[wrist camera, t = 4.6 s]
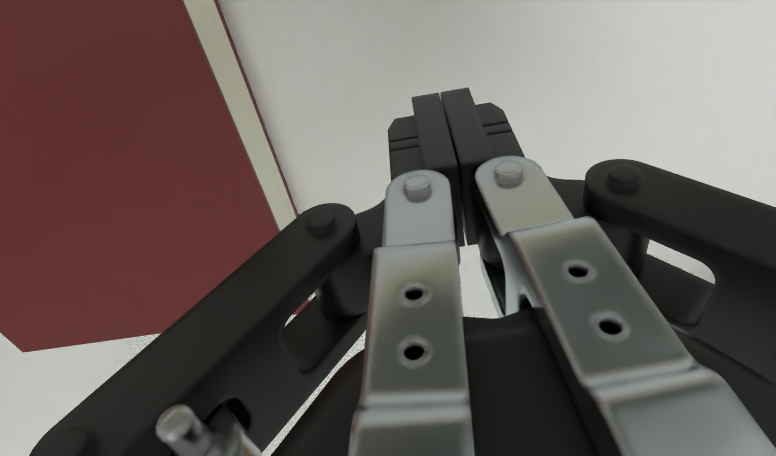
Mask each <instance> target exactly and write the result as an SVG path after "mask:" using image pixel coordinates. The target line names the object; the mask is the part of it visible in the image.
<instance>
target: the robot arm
mask: <svg viewBox="0 0 776 456" xmlns="http://www.w3.org/2000/svg"><path fill="white" fill-rule="evenodd" d="M412 103H413V110H414V116H409V117H403V118H397V119H394V121H393V123H392V124H391V126H390V127H389V129H388V141H389V156H390V172H391V182H390V184H389V185H388V187H387V189H386V196H385V199H384V200H383V201H382V202H381V203H379V204H378V205H376V206H375V207H373V208H371V209H369V210H366V211H364V212H361V213H359V214H356V215H355V214H354V212H353V211H352V210H351V209H350V208H349V207H347V206H345V205H342V204H336V203H328V204H322V205H318V206H315V207H312V208H310V209H308V210H306V211H304V212H303V213H302V214H300V215H299V216H298V217H297V218H295V219H294V220H293V221H292V222H291V223H290V224H288V225H287V226H286V227H285V228H284V229H283V230H281V231H280V232H279V233H278V234H277V235H276V236H275V237H273V238H272V239H271V240H270V241H269V242H268V243H266V244H265V245H264V246H263V247H262V248H261V249H259V250H258V251H257V252H256V253H255V254H254V255H252V256H251V257H250V258H249V259H248V260H247V261H245V262H244V263H243V264H242V265H241V266H240V267H238V268H237V269H236V270H235V271H234V272H233V273H231V274H230V275H229V276H228V277H227V278H226V279H224V280H223V281H222V282H221V283H220V284H219V285H217V286H216V287H215V288H214V289H213V290H212V291H210V292H209V293H208V294H207V295H206V296H205V297H204V298H202V299H201V300H200V301H199V302H198V303H197V304H195V305H194V306H193V307H192V308H191V309H190V310H188V311H187V312H186V313H185V314H184V315H183V316H181V317H180V318H179V319H178V320H177V321H176V322H174V323H173V324H172V325H171V326H170V327H169V328H167V329H166V330H165V331H164V332H163V333H162V334H160V335H159V336H158V337H157V338H156V339H155V340H153V341H152V342H151V343H150V344H149V345H148V346H146V347H145V348H144V349H143V350H142V351H141V352H140V353H138V354H137V355H136V356H135V357H134V358H133V359H131V360H130V361H129V362H128V363H127V364H126V365H124V366H123V367H122V368H121V369H120V370H119V371H117V372H116V373H115V374H114V375H113V376H112V377H110V378H109V379H108V380H107V381H106V382H105V383H103V384H102V385H101V386H100V387H99V388H98V389H96V390H95V391H94V392H93V393H92V394H91V395H89V396H88V397H87V398H86V399H85V400H84V401H82V402H81V403H80V404H79V405H78V406H77V407H76V408H74V409H73V410H72V411H71V412H70V413H69V414H67V415H66V416H65V417H64V418H63V419H62V420H60V421H59V422H58V423H57V424H56V425H55V426H53V427H52V428H51V429H50V430H49V431H48V432H47V433H46V434H45V435H44V436H43V437H42V438H41V439H40V441H39V442H38V443H37V444H36V446H35V447H34V448H33V450H32V452H31V453H30V455H29V456H262V455H261V453H262V452H263V451H264V450H265V449H266V447H267V446H268V445H269V444H270V443H271V441H272V440H273V439H274V438H275V437H276V436H277V434H278V433H279V432H280V431H281V430H282V428H283V427H284V426H285V425H286V424H287V422H288V421H289V420H290V419H291V418H292V417H293V415H294V414H295V413H296V412H297V411H298V409H299V408H300V407H301V406H302V405H303V404H304V402H305V401H306V400H307V399H308V398H309V396H310V395H311V394H312V393H313V392H314V391H315V389H316V388H317V387H318V386H319V385H320V383H321V382H322V381H323V380H324V379H325V378H326V376H327V375H328V374H329V373H330V372H331V370H332V369H333V368H334V367H335V366H336V365H337V363H338V362H339V361H340V360H341V359H342V357H343V356H344V355H345V354H346V353H347V352H348V350H349V349H350V348H351V347H352V346H353V344H354V343H355V342H356V341H357V340H358V339H359V337H360V336H361V335H362V334H363V333H364V331H365V330H366V338H365V349H363V350H362V351H360V352H359V353H357V354H356V355H355V356H353V357H352V358H351V359H350V360H348V361H347V362H346V363H345V364H344V365H343V366H342V367H341V368H340V369H339V370H338V371H337V372H336V373H335V375H334V376H333V377H332V378H331V379H330V381H329V382H328V383H327V385H326V386H325V387H324V388H323V390H322V391H321V392H320V393H319V395H318V396H317V397H316V399H315V400H314V401H313V402H312V404H311V405H310V406H309V408H308V409H307V410H306V411H305V413H304V414H303V415H302V416H301V418H300V419H299V420H298V422H297V423H296V424H295V425H294V427H293V428H292V429H291V430H290V432H289V433H288V434H287V436H286V437H285V438H284V439H283V441H282V442H281V443H280V445H279V446H278V447H277V448H276V450H275V451H274V452H273V453H272V455H271V456H776V207H773V206H770V205H767V204H764V203H761V202H758V201H755V200H752V199H749V198H746V197H743V196H740V195H737V194H734V193H731V192H728V191H725V190H722V189H719V188H716V187H713V186H710V185H707V184H704V183H701V182H698V181H695V180H692V179H689V178H686V177H684V176H681V175H678V174H675V173H672V172H669V171H666V170H663V169H660V168H657V167H654V166H651V165H648V164H645V163H642V162H638V161H634V160H626V159H614V160H607V161H603V162H600V163H598V164H595V165H594V166H592V167H591V168H590V169H589V170H588V171H587V173H586V176H585V180H565V179H556V178H551V177H547V176H546V175H545V173H544V171H543V170H542V168H541V167H540V166H539V165H538V164H537V163H536V162H534V161H532V160H530V159H528V158H525V156H524V154H523V152H522V150H521V148H520V145H519V143H518V141H517V139H516V137H515V135H514V133H513V132H512V128H511V126H510V124H509V123H508V120H507V118H506V116H505V113H504V111H503V110H502V109H500V108H499V107H497V106H495V105H494V104H492V103H491V102H490V103H485V104H479V105H475V104H474V101H473V98H472V96H471V93H470V90H469V88H462V89H456V90H450V91H445V92H441V100H440V96H439V93H434V94H428V95H422V96H416V97H412ZM463 228H464V231H463ZM464 232H465V237H466V241H467V245H474V244H478V246H479V250H480V260H481V270H482V273H483V276H484V278H485V281H486V284H487V287H488V289H489V292H490V295H491V298H492V300H493V303H494V306H495V309H496V311H497V314H498V317H499V318H497V319H488V318H474V317H463V307H462V297H461V287H460V276H459V264H460V249H459V247H461V246H465V242H464ZM650 239H651V240H653V241H655V242H658V243H660V244H662V245H664V246H667V247H669V248H671V249H674V250H676V251H678V252H680V253H683V254H685V255H687V256H690V257H692V258H694V259H696V260H699V261H701V262H702V263H704V264H705V265H706V266H708V267H709V268H710V269H711V271H712V272H713V274H714V276H715V280H716V282H715V284H712V283H710V282H708V281H705V280H703V279H701V278H699V277H697V276H695V275H692V274H690V273H688V272H686V271H684V270H682V269H679V268H677V267H675V266H673V265H671V264H669V263H666V262H664V261H662V260H660V259H658V258H655V257H653V256H651V255H649V254H647V253H646V252H647V248H648V244H649V240H650ZM314 292H315V294H316V296H315V297H314V298H313V299H312V300H311V301H310V302H309V303H308V304H307V305H306V306H305V307H304V308H303V309H302V310H301V311H300V312H299V313H298V314H297V315H296V316H295V317H294V318H293V319H292V320H291V321H290V322H289V323H288V324H287V325H286V327H285V324H286V322H287V320H288V319H289V317H290V316H291V315H292V314H293V313H294V312H295V311H296V310H297V309H298V308H299V307H300V306H301V305H302V304H303V303H304V302H305V301H306V300H307V299H308V298H309V297H310V296H311V295H312V294H313V293H314ZM284 327H285V328H284Z"/></svg>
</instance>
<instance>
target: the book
mask: <svg viewBox="0 0 776 456" xmlns="http://www.w3.org/2000/svg"><path fill="white" fill-rule="evenodd" d="M297 217H298V213H297V211H296V208H295V206H294V203H293V200H292V198H291V195H290V192H289V190H288V187H287V184H286V182H285V179H284V176H283V174H282V171H281V168H280V166H279V163H278V160H277V158H276V155H275V153H274V150H273V147H272V145H271V142H270V139H269V137H268V134H267V131H266V129H265V126H264V123H263V121H262V118H261V115H260V113H259V110H258V107H257V105H256V102H255V99H254V97H253V94H252V92H251V89H250V86H249V84H248V81H247V78H246V76H245V73H244V70H243V68H242V65H241V62H240V60H239V57H238V54H237V52H236V49H235V46H234V44H233V41H232V38H231V36H230V33H229V31H228V28H227V25H226V23H225V20H224V17H223V15H222V12H221V9H220V7H219V4H218V1H217V0H0V333H2V334H3V335H4V336H5V337H6V338H7V339H8V340H10V341H11V342H12V343H13V344H14V345H15V346H16V347H17V348H19V349H20V350H21V351H22V352H30V351H37V350H44V349H51V348H58V347H65V346H72V345H80V344H87V343H94V342H101V341H108V340H115V339H123V338H130V337H137V336H144V335H151V334H158V333H163V332H164V331H165V330H166V329H167V328H169V327H170V326H171V325H172V324H173V323H174V322H176V321H177V320H178V319H179V318H180V317H181V316H183V315H184V314H185V313H186V312H187V311H188V310H190V309H191V308H192V307H193V306H194V305H195V304H197V303H198V302H199V301H200V300H201V299H202V298H204V297H205V296H206V295H207V294H208V293H209V292H210V291H212V290H213V289H214V288H215V287H216V286H217V285H219V284H220V283H221V282H222V281H223V280H224V279H226V278H227V277H228V276H229V275H230V274H231V273H233V272H234V271H235V270H236V269H237V268H238V267H240V266H241V265H242V264H243V263H244V262H245V261H247V260H248V259H249V258H250V257H251V256H252V255H254V254H255V253H256V252H257V251H258V250H259V249H261V248H262V247H263V246H264V245H265V244H266V243H268V242H269V241H270V240H271V239H272V238H273V237H275V236H276V235H277V234H278V233H279V232H280V231H281V230H283V229H284V228H285V227H286V226H287V225H288V224H290V223H291V222H292V221H293V220H294V219H295V218H297ZM310 301H311V296H310V297H309V298H308V299H307V300H306V301H305V302H304V303H303V304H302V305H301V306H300V307H299V308H298V309H297V310H296V311H295V312H294V313H293V314H292V315H294V314H298V313H299V312H300V311H301V310H302V309H303V308H304V307H305V306H306V305H307V304H308V303H309V302H310Z"/></svg>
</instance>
